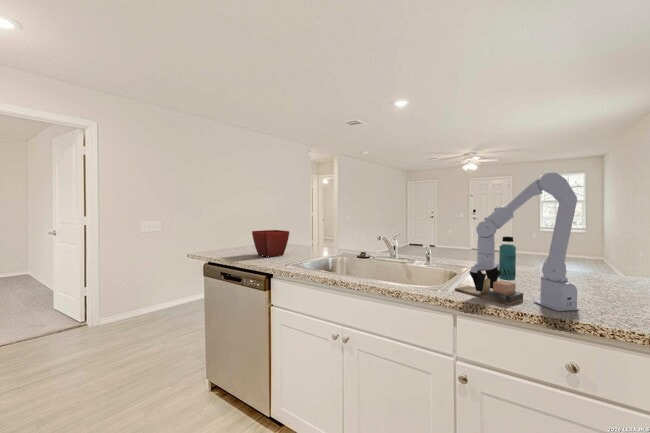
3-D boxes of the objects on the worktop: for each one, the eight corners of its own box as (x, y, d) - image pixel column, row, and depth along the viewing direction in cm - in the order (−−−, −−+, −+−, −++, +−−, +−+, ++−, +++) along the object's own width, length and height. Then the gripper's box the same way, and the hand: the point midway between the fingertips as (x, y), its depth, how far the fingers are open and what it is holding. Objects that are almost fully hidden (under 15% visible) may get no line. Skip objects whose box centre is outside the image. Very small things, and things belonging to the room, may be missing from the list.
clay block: (515, 297, 108) (515, 283, 108) (507, 299, 106) (507, 285, 105) (485, 290, 118) (485, 277, 117) (477, 292, 115) (477, 278, 115)
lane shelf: (523, 301, 107) (523, 293, 107) (509, 305, 103) (509, 296, 103) (468, 287, 126) (468, 280, 126) (455, 290, 122) (455, 283, 122)
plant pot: (275, 252, 223) (275, 229, 222) (290, 255, 208) (290, 231, 207) (251, 255, 210) (251, 230, 210) (265, 259, 196) (264, 232, 195)
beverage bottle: (495, 281, 135) (495, 236, 135) (505, 280, 138) (506, 235, 137) (508, 284, 129) (509, 237, 129) (519, 283, 132) (520, 236, 131)
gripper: (487, 250, 122) (486, 284, 122) (463, 253, 114) (463, 289, 115) (505, 253, 115) (504, 288, 116) (481, 256, 108) (481, 294, 109)
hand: (485, 289), depth 115 cm, fingers open, 7 cm apart
